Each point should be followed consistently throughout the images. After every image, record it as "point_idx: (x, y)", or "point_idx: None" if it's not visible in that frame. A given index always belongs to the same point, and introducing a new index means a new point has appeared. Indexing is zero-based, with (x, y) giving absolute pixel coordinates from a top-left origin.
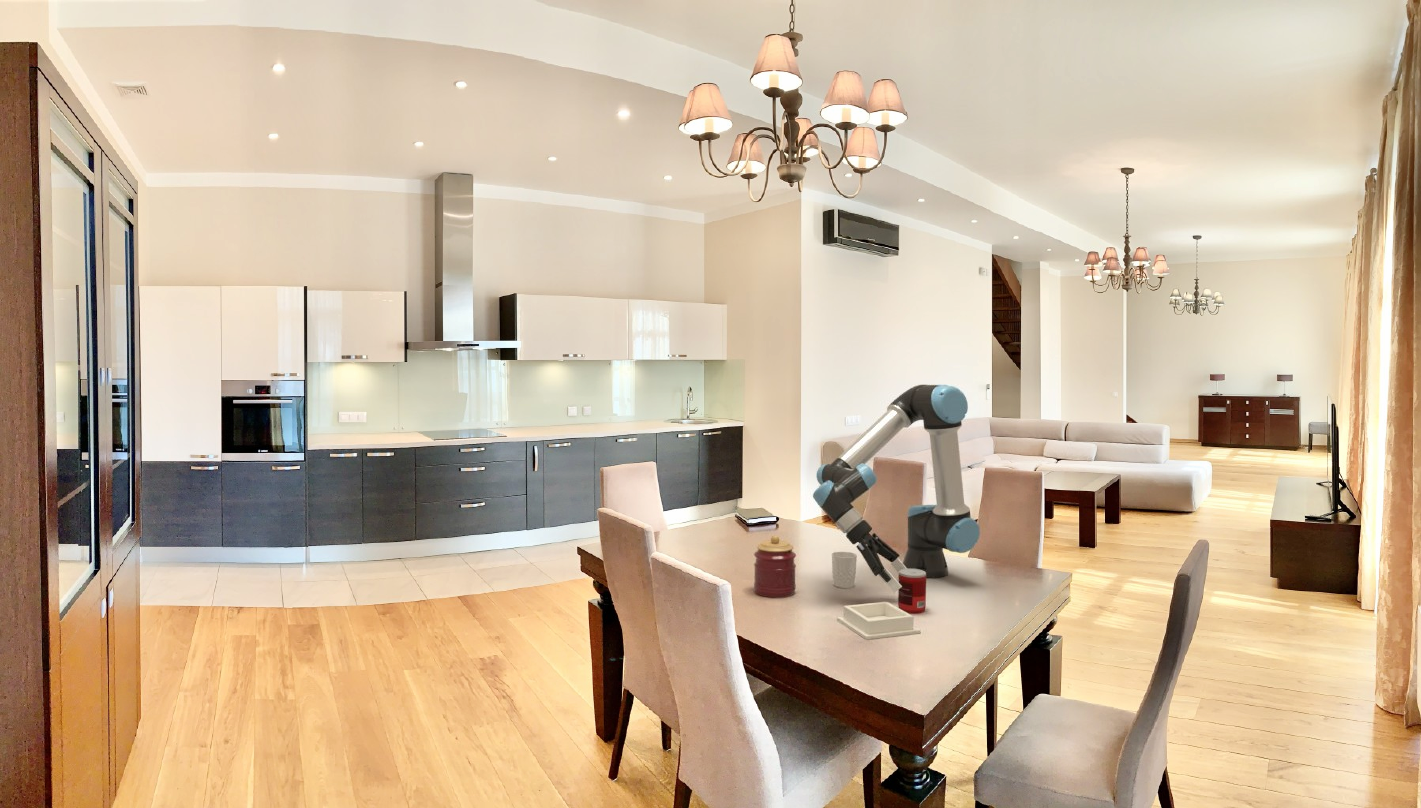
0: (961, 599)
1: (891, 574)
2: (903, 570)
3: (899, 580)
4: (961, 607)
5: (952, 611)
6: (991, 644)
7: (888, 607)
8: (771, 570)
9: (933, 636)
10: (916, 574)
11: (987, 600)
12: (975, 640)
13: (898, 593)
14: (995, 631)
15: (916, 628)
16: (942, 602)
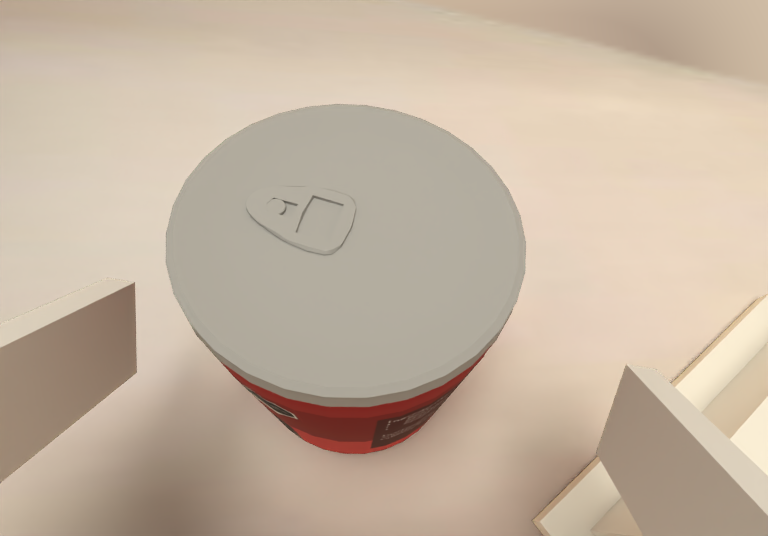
0: (103, 126)
1: (750, 495)
2: (263, 338)
3: (427, 405)
4: None
5: None
6: (690, 69)
7: None
8: None
9: (755, 243)
10: (392, 192)
11: (114, 43)
12: (684, 107)
13: (375, 441)
14: (537, 49)
15: (757, 313)
16: (170, 204)
